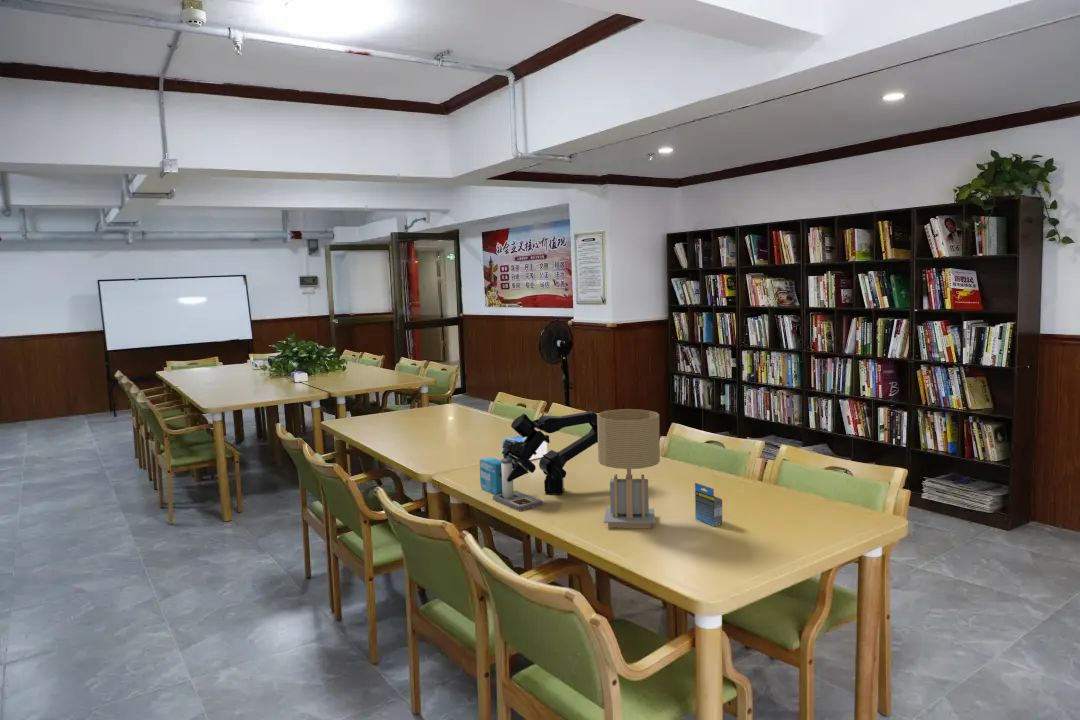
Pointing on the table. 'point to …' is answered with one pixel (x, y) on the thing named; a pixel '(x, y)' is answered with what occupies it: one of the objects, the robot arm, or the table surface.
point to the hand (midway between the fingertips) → (503, 478)
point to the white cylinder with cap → (506, 471)
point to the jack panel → (518, 501)
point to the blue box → (491, 475)
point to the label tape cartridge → (707, 505)
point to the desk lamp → (628, 463)
